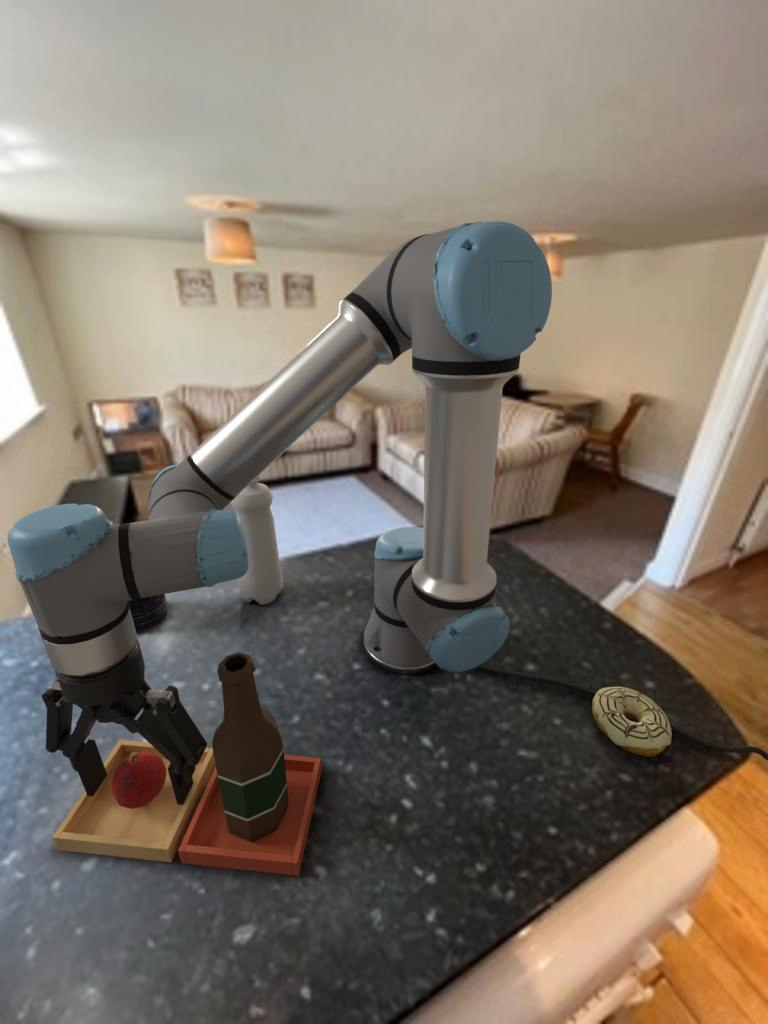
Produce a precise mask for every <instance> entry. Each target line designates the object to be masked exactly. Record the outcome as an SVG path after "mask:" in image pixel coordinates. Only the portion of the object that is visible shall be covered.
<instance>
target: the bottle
mask: <svg viewBox="0 0 768 1024" xmlns="http://www.w3.org/2000/svg"><path fill="white" fill-rule="evenodd" d="M262 478H263V476H262V475H261V474H260V475H259V476H258V477H257V478H255V479H254V480H253V481H252V482H251V483H250V484H249V485H248V486H247V487H246V488H245V489H244V490H243V491H241V492H240V493H239V494H238V495H237V497H236V498H234V499H233V500H232V501H231V502H230V504H231V506H232V508H233V510H235V511H237V512H238V513H239V514H240V517H241V520H242V523H243V528H244V533H245V538H246V544H247V552H248V570H247V572H246V574H245V575H244V576H242V577H241V578H237V582H238V583H237V584H238V590H239V596H240V597H241V598H242V599H243V600H244V601H245V602H246V603H248V604H250V603H251V602H252V601H255V602H256V603H258V604H259V605H260V606H264V605H269V604H271V603H272V602H275V600H276V599H277V596H278V594H280V593H281V592H282V590H283V589H284V581H283V569H282V566H281V562H280V555H279V548H278V542H277V541H278V539H277V534H276V527H275V519H274V516H273V513H272V509H271V505H272V503H273V498H274V495H273V492H272V491H271V489H270V488H269V487H268V485H267V484H264V483H261V482H259V481H260V480H261V479H262Z"/></svg>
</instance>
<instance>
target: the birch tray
mask: <svg viewBox="0 0 768 1024" xmlns="http://www.w3.org/2000/svg"><path fill="white" fill-rule="evenodd" d="M144 751H147V752H151V753H155V754H156V755H158V756H159V757H160V758H161V759H162V760H163V762H164V763H165V767H166V779H165V783H164V786H163V787H162V789H161V791H160V792H159V794H158V795H157V796H156V797H155V798H154V799H153V800H152V801H151V802H149V803H147V804H146V805H144V806H142V807H139V808H134V809H130V808H126V807H123V806H120V805H119V804H118V802H117V801H116V799H115V798H114V796H113V795H112V778H113V776H114V773H115V771H116V769H117V767H118V766H119V765H120V764H121V763H122V761H123V760H124V759H126V758H127V757H128V756H130V754H131V753H134V752H144ZM103 764H104V767H105V770H106V772H107V776H106V778H105V779H104V781H103V782H102V784H101V785H100V787H99V788H98V790H97V791H96V793H95V794H94V796H87V793H86V791H85V790H84V791H83V792H82V794H81V795H80V797H79V798H78V799H77V801H76V802H75V803H74V805H73V807H72V808H71V809H70V811H69V812H68V813H67V816H66V817H65V818H64V820H62V822H61V824H60V826H59V827H58V829H57V830H56V831H55V833H54V834H53V836H52V837H51V838H52V841H53V842H54V844H55V846H56V848H57V851H62V852H70V853H81V854H90V855H98V856H99V855H100V856H108V857H119V858H128V859H137V860H145V861H155V862H165V863H172V862H173V860H174V858H175V856H176V854H177V852H178V849H179V847H180V845H181V843H182V840H183V838H184V836H185V834H186V832H187V829H188V827H189V825H190V823H191V820H192V818H193V816H194V814H195V811H196V809H197V807H198V805H199V802H200V800H201V798H202V796H203V793H204V791H205V789H206V787H207V784H208V782H209V780H210V778H211V775H212V773H213V771H214V769H215V760H214V755H213V747H206V749H205V751H204V753H203V755H202V757H201V759H200V761H199V763H198V765H196V766H195V768H196V769H195V771H194V774H193V776H192V778H193V782H194V783H193V785H192V787H191V789H190V791H189V793H188V796H187V798H186V800H185V802H184V804H183V805H177V802H176V798H175V794H174V791H173V787H172V783H171V779H170V776H169V772H168V767H169V765H170V764H171V762H169V761H168V760H167V759H166V758H165V757H164V756H163V755H162V754H161V753H160V752H159V751H158V750H156V749H155V748H154V747H153V746H152V745H151V744H150V743H149V742H148V741H136V740H126V739H125V740H124V739H119V740H118V741H117V743H116V744H115V746H114V747H113V749H112V750H111V751H110V753H109V755H108V756H107V758H106V759H105V760H104V761H103Z"/></svg>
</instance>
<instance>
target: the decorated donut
mask: <svg viewBox="0 0 768 1024" xmlns="http://www.w3.org/2000/svg"><path fill="white" fill-rule="evenodd" d="M596 692H597V693H596V694H595V696H593V698H592V700H591V701H592V702H591V704H592V707H591V708H592V716H593V718H594V721H595V723H596V725H597V727H598V728H599V729H600V731H601V732H602V733H603V734H604V735H605V736H606V737H607V738H608V739H609V740H610V741H611V742H612V743H613V744H615V745H616V746H618V747H620V748H621V749H622V750H623V751H626V752H629V753H631V754H633V755H638V756H642V757H646V758H649V757H651V758H652V757H653V758H654V757H655V756H656V755H658V754H659V755H660V754H662V752H663V751H665V749H666V748H667V747H668V746H670V745H671V744H672V736H673V733H672V732H673V731H671V727H670V724H671V723H670V721H669V719H668V716H667V715H666V713H665V712H664V711H663V710H662V708H661V707H660V706H659V705H658V704H657V703H656V702H655V701H654V700H653V699H651V698H649V697H648V696H647V695H644V694H643V693H641V692H640V691H637V690H634V689H632V688H629V687H624V686H607V687H603V688H599V689H598V690H597V691H596Z"/></svg>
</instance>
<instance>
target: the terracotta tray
mask: <svg viewBox="0 0 768 1024" xmlns="http://www.w3.org/2000/svg"><path fill="white" fill-rule="evenodd" d="M284 758H285V768H286V779H287V789H288V808H287V810H286V812H285V814H284V816H283V818H282V820H281V822H280V824H279V826H278V828H277V830H276V831H274V832H272V833H270V834H268V835H266V836H264V837H262V838H260V839H258V840H256V841H254V842H250V841H248V840H245V839H243V838H240V837H238V836H235V835H233V834H230V832H229V829H228V826H227V821H226V816H225V811H224V806H223V801H222V796H221V791H220V786H219V781H218V776H217V771H216V766H215V767H214V769H213V771H212V774H211V776H210V778H209V780H208V782H207V785H206V787H205V789H204V791H203V794H202V796H201V798H200V800H199V803H198V805H197V807H196V809H195V812H194V814H193V816H192V818H191V821H190V823H189V825H188V827H187V829H186V832H185V834H184V836H183V838H182V841H181V843H180V845H179V847H178V850H177V852H178V856H179V859H180V863H181V864H184V865H193V866H202V867H203V866H204V867H211V868H221V869H222V868H223V869H229V870H230V869H231V870H240V871H249V872H259V873H269V874H277V875H285V876H295V877H296V876H297V877H299V876H300V873H301V869H302V863H303V859H304V855H305V849H306V845H307V841H308V835H309V832H310V827H311V821H312V817H313V811H314V808H315V803H316V798H317V795H318V794H317V793H318V789H319V785H320V780H321V776H322V770H323V769H322V758H321V757H315V756H304V755H293V754H284Z"/></svg>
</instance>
